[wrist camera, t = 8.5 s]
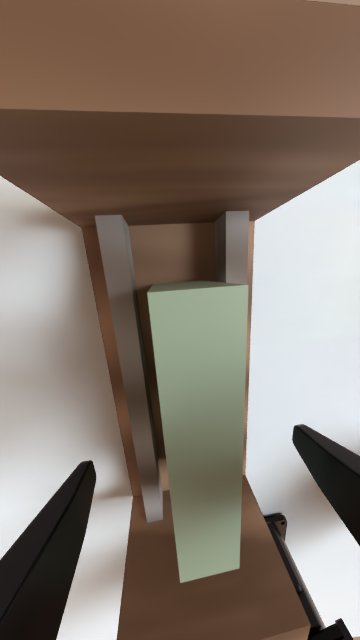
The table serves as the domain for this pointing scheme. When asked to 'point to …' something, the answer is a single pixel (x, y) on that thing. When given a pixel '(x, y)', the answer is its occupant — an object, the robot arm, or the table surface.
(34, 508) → the table surface
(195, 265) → the cabinet base
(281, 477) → the table surface
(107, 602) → the table surface
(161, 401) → the door panel
